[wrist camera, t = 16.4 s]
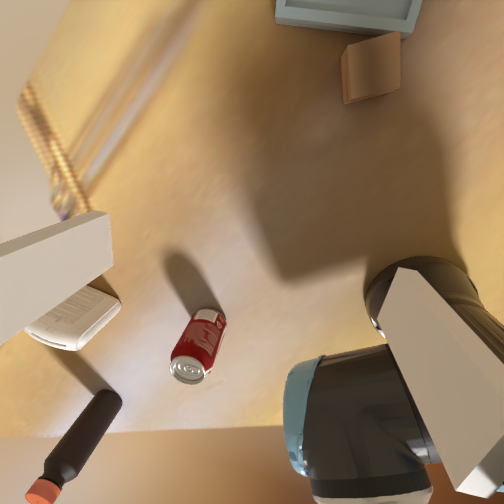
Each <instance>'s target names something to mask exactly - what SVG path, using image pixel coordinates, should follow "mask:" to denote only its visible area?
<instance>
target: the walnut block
mask: <svg viewBox="0 0 504 504" xmlns="http://www.w3.org/2000/svg"><path fill="white" fill-rule="evenodd" d="M340 63H341V76H342V90H343V104H348V103H352V102H357V101H361V100H365V99H369V98H373V97H377V96H381V95H385V94H388V93H390V92H392V91H394V90H396V89H398V88H400V87H401V53H400V30H399V31H396V32H392V33H389V34H385V35H382V36H378V37H375V38H371V39H368V40H364V41H361V42H358V43H354V44H351V45H348V46H347V47H346V49H345V51H344V53H343V54H342V56H341V58H340Z"/></svg>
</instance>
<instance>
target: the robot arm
mask: <svg viewBox="0 0 504 504" xmlns="http://www.w3.org/2000/svg"><path fill="white" fill-rule="evenodd" d="M112 266H114V263H113V252H112V240H111V229H110V217H109V213H106V212H100V211H95V210H93V211H90V212H88V213H85V214H82V215H79V216H77V217H74V218H71V219H68V220H65V221H63V222H60V223H57V224H54V225H52V226H49V227H46V228H43V229H41V230H38V231H35V232H32V233H29V234H27V235H24V236H21V237H18V238H16V239H13V240H10V241H7V242H5V243H1V244H0V345H2V344H3V343H5V342H6V341H7V340H9V339H10V338H12V337H13V336H14V335H16V334H17V333H19V332H20V331H22V330H23V329H24V328H26V327H27V326H29V325H30V324H31V323H33V322H34V321H36V320H37V319H39V318H40V317H41V316H43V315H44V314H46V313H47V312H48V311H50V310H51V309H53V308H54V307H56V306H57V305H58V304H60V303H61V302H63V301H64V300H65V299H67V298H68V297H70V296H71V295H73V294H74V293H75V292H77V291H78V290H80V289H81V288H83V287H84V286H85V285H87V284H88V283H90V282H91V281H92V280H94V279H95V278H97V277H98V276H100V275H101V274H102V273H104V272H105V271H107V270H108V269H109V268H111V267H112ZM366 310H367V313H368V315H369V318H370V320H371V322H372V324H373V326H374V327H375V329H376V330H377V331H378V332H379V333H380V334H381V335H382V336H383V337H385V338H386V340H387V342H388V344H382V345H378V346H373V347H368V348H363V349H358V350H353V351H348V352H344V353H339V354H334V355H329V356H326V355H321V356H319V357H318V358H316V359H312V360H308V361H304V362H301V363H298V364H296V365H295V366H294V367H293V368H292V369H291V371H290V372H289V374H288V377H287V381H286V384H285V389H284V397H283V425H284V435H285V442H286V447H287V449H288V450H289V459H290V462H291V464H292V466H293V468H294V469H295V470H296V471H297V472H298V473H300V474H302V475H303V476H310V481H311V487H312V493H313V497H314V500H315V501H316V502H317V503H318V504H428V502H429V499H430V497H431V494H432V492H433V487H432V485H431V482H430V479H429V477H428V474H427V471H426V469H425V464H429V463H430V464H431V463H443V464H444V467H445V469H446V471H447V473H448V475H449V478H450V480H451V482H452V484H453V486H454V489H455V490H456V491H459V492H463V493H467V494H471V495H475V496H480V497H484V498H488V499H489V498H490V497H491V496H492V495H493V494H494V493H495V492H496V491H499V492H504V325H502V324H501V323H500V322H499V321H498V320H497V319H496V318H495V317H493V316H492V315H491V314H490V313H489V312H488V311H486V310H485V308H484V306H483V304H482V303H481V301H480V299H479V296H478V292H477V289H476V287H475V285H474V283H473V282H472V280H471V279H470V278H469V277H468V276H467V275H466V274H465V273H464V272H463V271H462V270H460V269H459V268H458V267H457V266H455V265H454V264H452V263H450V262H448V261H446V260H443V259H440V258H435V257H414V258H409V259H405V260H402V261H399V262H397V263H394V264H392V265H391V266H389V267H387V268H386V269H384V270H383V271H382V272H381V273H380V274H379V275H378V276H377V277H376V278H375V279H374V280H373V282H372V283H371V285H370V287H369V289H368V291H367V295H366Z"/></svg>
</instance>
